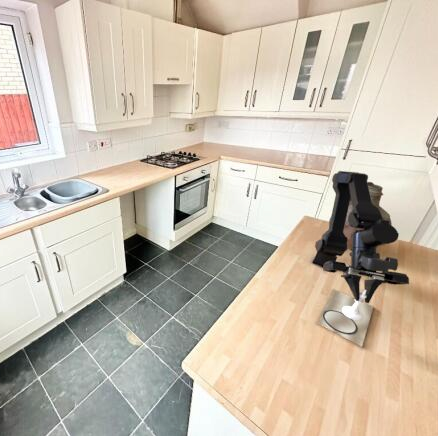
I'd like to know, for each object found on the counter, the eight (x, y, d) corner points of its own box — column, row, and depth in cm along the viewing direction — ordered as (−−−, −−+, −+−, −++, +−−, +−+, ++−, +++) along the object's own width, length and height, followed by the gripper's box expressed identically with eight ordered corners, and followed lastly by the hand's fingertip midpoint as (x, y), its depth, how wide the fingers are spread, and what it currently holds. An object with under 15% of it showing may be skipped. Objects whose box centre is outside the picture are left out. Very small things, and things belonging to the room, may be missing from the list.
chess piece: (361, 312, 75) (375, 288, 70) (362, 323, 72) (377, 299, 67) (342, 304, 78) (354, 281, 73) (341, 315, 74) (354, 291, 69)
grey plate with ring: (318, 323, 77) (319, 322, 77) (334, 290, 89) (335, 289, 89) (361, 347, 70) (362, 345, 70) (372, 308, 82) (373, 306, 82)
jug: (374, 266, 101) (411, 200, 86) (316, 244, 115) (339, 185, 100) (383, 245, 113) (416, 185, 99) (329, 228, 127) (351, 173, 113)
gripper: (339, 238, 69) (336, 293, 66) (424, 251, 63) (425, 313, 60) (324, 245, 80) (320, 293, 76) (395, 257, 74) (395, 310, 70)
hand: (362, 302), depth 70 cm, fingers closed on chess piece
